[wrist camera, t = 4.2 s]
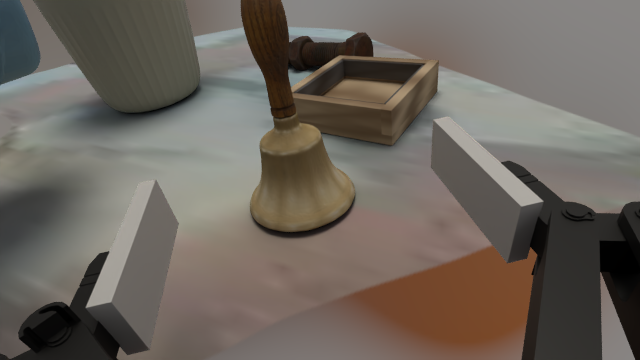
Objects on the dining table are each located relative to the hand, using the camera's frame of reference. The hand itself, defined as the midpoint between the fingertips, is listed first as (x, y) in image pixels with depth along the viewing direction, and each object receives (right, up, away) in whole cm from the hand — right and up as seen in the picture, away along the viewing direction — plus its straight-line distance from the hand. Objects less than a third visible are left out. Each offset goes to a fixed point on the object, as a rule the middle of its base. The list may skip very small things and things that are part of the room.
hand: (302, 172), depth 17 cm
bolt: (+1, +16, +36) cm, 39 cm away
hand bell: (-1, -2, +11) cm, 11 cm away
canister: (-23, +12, +35) cm, 44 cm away
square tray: (+6, +8, +23) cm, 25 cm away
